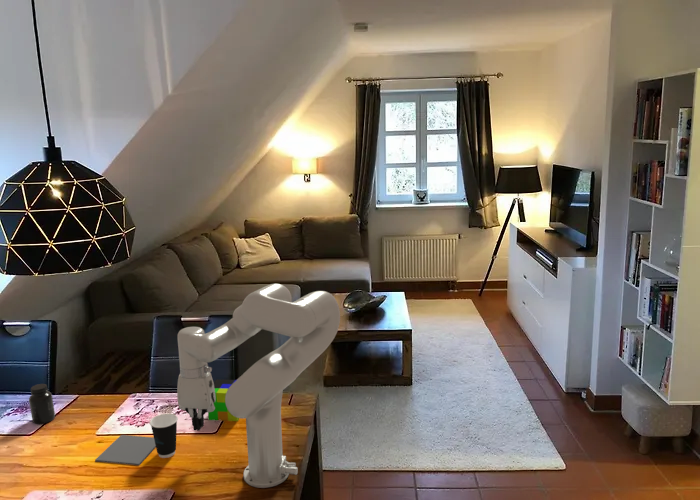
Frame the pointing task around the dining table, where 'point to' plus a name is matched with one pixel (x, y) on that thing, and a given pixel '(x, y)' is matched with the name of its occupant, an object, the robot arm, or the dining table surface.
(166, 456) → the dixie cup
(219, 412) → the puzzle toy
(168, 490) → the dining table surface
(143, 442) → the charcoal mat
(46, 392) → the supplement bottle
